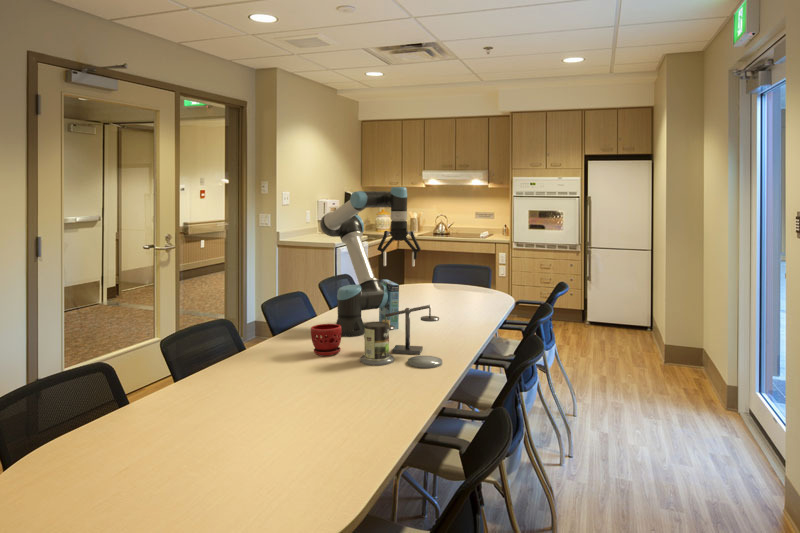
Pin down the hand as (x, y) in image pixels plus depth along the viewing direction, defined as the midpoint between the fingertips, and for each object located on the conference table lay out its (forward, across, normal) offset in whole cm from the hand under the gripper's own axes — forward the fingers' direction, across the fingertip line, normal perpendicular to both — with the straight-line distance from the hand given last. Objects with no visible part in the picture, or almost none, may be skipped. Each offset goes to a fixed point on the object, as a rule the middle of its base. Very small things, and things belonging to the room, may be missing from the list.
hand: (399, 266), depth 273 cm
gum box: (+35, -11, +26) cm, 45 cm away
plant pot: (+35, -26, -31) cm, 53 cm away
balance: (+35, +8, -22) cm, 42 cm away
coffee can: (+34, -2, -38) cm, 51 cm away
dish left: (+35, -2, -38) cm, 51 cm away
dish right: (+35, +18, -38) cm, 55 cm away
